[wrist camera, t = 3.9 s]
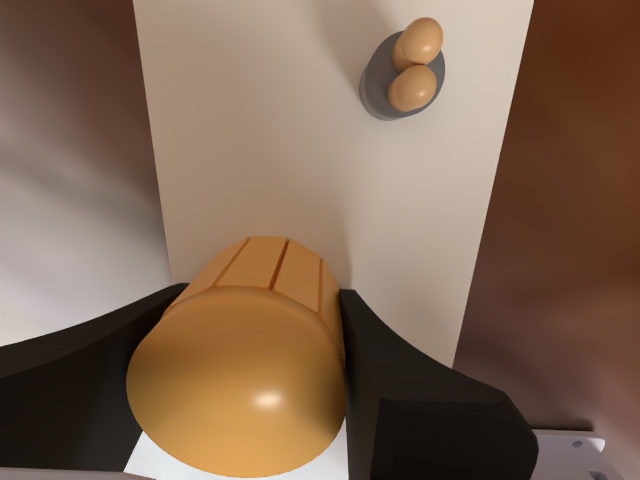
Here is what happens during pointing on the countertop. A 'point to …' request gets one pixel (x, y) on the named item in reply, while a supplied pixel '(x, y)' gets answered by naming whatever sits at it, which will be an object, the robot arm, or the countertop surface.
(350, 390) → the robot arm
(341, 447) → the countertop surface
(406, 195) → the mounting plate
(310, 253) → the cupcake
